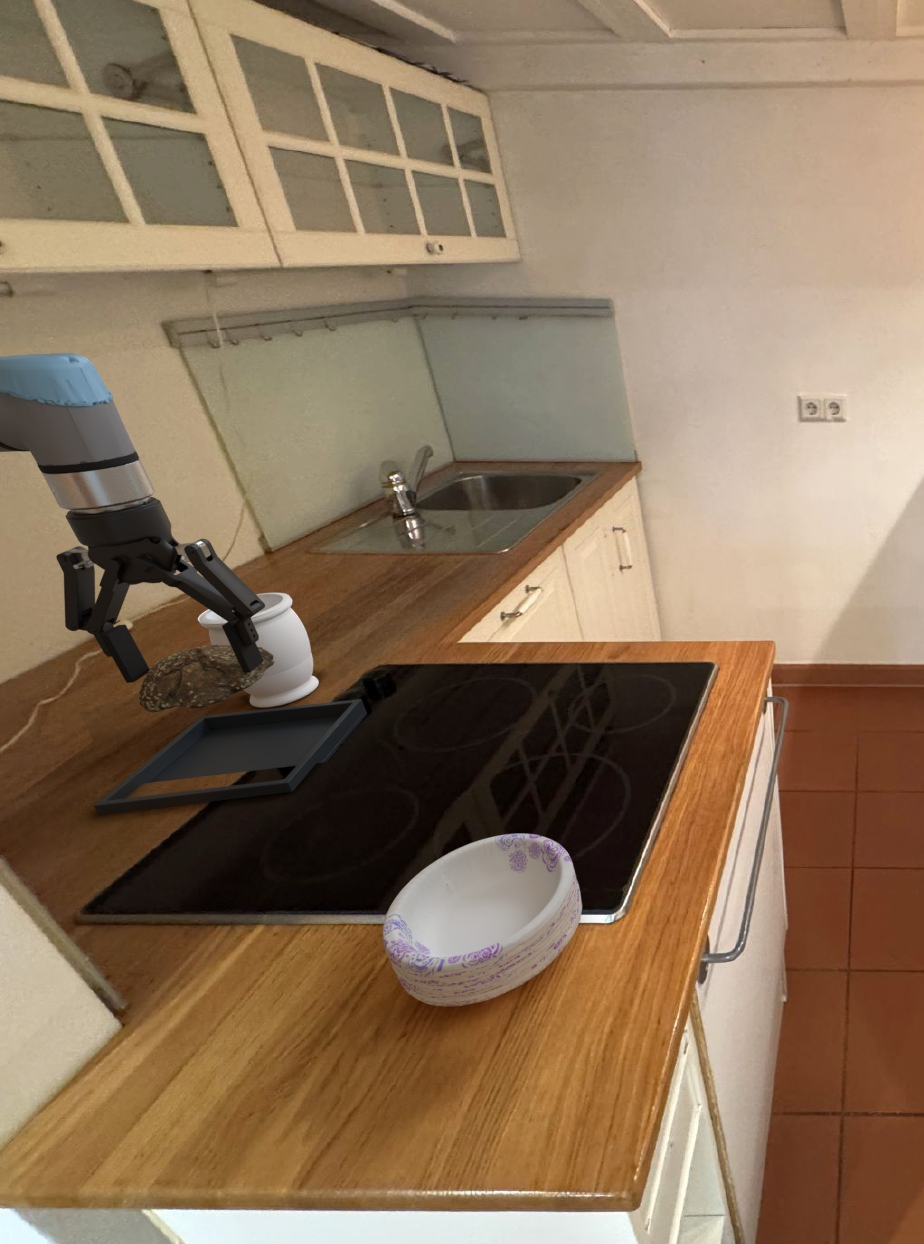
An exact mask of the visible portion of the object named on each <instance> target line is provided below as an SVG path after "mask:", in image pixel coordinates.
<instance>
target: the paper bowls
mask: <svg viewBox="0 0 924 1244" xmlns="http://www.w3.org/2000/svg"><path fill="white" fill-rule="evenodd" d="M582 911H583V901H582V895H581V890H580V884H579V881H578V879H577V874H576V871H575V867H574V863H573V861H572V858H571V856H570V854H569V853H568V851H567V850H566V848H564V847H563V845H561V844H560V843H559V842H557V841H555V840H553V839H552V838H548V837H546V836H543V835H540V834H535V833H506V834H502V835H501V834H500V835H495V836H491V837H486V838H482V839H479V840H476V841H473V842H470V843H468V844H465V845H463V846H461V847H458V848H456V849H454V850H453V851H449V852H448V853H447V854H445V855H443V856H441V857H440V858H438V859H436V860H435V861H433V862H432V863H430V864H429V865H427V866H426V867H425V868H423V869H422V870H420V872H419V873H417V874H416V875H415V876H414V877H413V878H411V879H410V880H409V882H408V883H407V884H406V885H404V887H403V888H402V889H401V890H400V891H399V893H397V895H396V897H395V898H394V900H393V901H392V903H391V904H390V906H389V908H388V910H387V912H386V914H385V917H384V921H383V925H382V945H383V949H384V951H385V953H386V955H387V957H388V959H389V961H390V965H391V968H392V970H393V971H394V973H395V975H396V978H397V979H398V981H399V984H400V985H401V986H402V987H403V989H404V990H405V991H406V993H408V994H409V995H410V996H411V997H413V998H414V999H416V1000H417V1001H420V1002H421V1003H425V1004H428V1005H431V1006H436V1007H438V1006H439V1007H461V1006H467V1005H471V1004H477V1003H481V1002H484V1001H489V1000H492V999H494V998H497V997H500V996H501V995H504V994H507V992H510V991H512V990H515V989H516V988H519V987H520V986H522V985H524V984H525V983H527V982H528V981H530V980H531V979H533V978H535V977H536V976H538V975H539V974H540V973H541V972H543V970H545V969H546V968H547V967H548V966H549V965H550V964H552V963H553V962H554V960H555V959H557V957H559V955H560V954H561V953H562V952H563V951H564V949H565V948H566V947H567V946H568V944H569V942H570V941H571V940H572V938H573V937H574V935H575V932H576V930H577V928H578V927H579V924H580V922H581V918H582Z"/></svg>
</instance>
